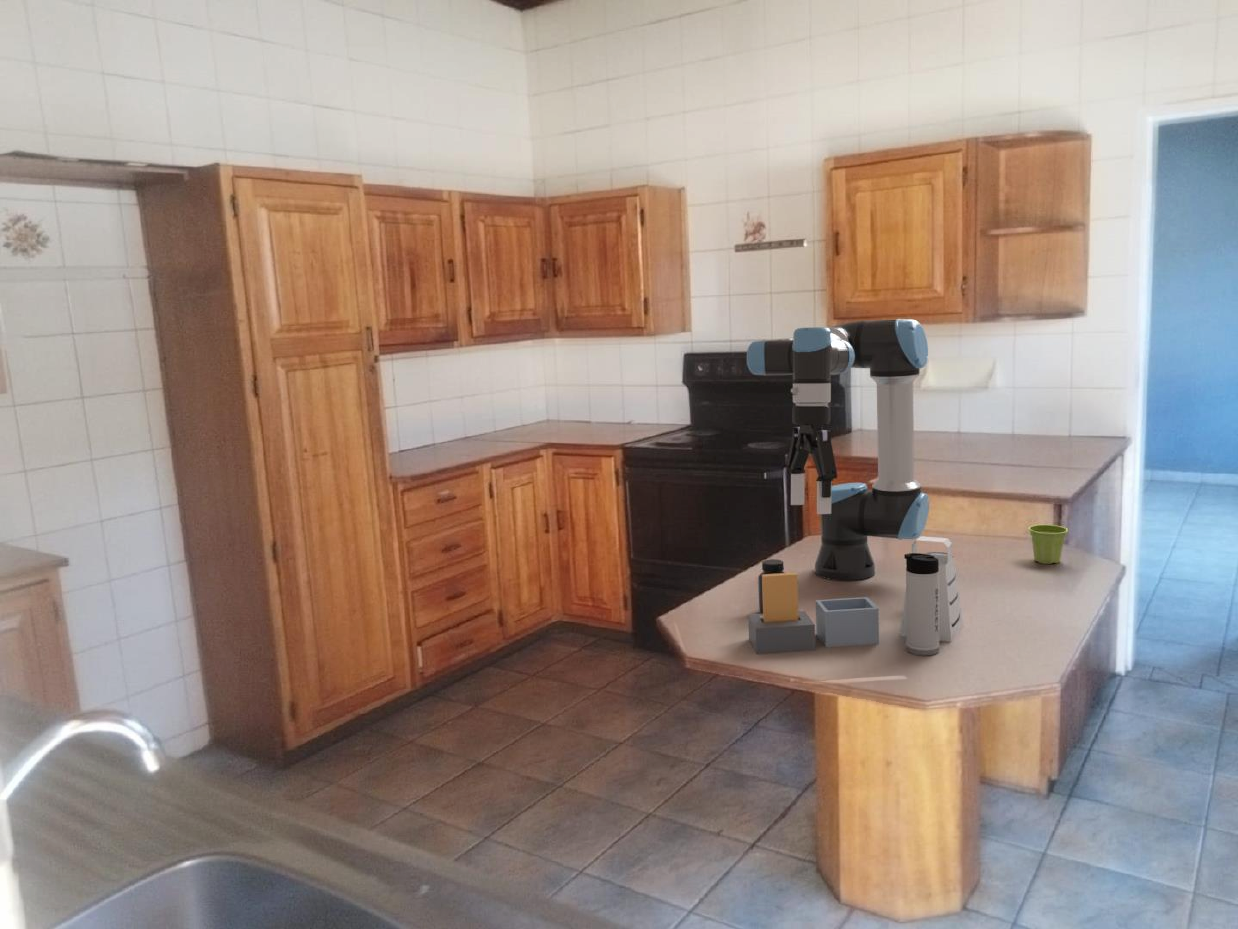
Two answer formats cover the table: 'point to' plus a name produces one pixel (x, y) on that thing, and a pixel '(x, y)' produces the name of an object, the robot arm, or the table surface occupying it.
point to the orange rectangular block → (780, 597)
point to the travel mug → (922, 604)
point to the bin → (847, 621)
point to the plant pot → (1047, 542)
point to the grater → (943, 594)
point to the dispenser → (781, 634)
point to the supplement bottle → (768, 568)
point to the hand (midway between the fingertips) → (810, 509)
